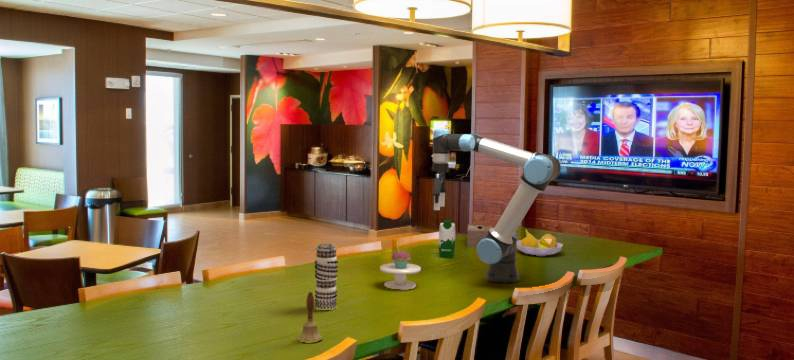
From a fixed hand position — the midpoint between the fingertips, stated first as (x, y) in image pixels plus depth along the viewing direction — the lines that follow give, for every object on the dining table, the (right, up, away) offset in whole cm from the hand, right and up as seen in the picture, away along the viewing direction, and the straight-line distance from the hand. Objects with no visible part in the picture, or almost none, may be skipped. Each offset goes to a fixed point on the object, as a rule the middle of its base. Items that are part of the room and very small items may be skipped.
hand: (439, 208), depth 309 cm
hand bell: (-49, -40, -88) cm, 108 cm away
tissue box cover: (+30, -26, +91) cm, 99 cm away
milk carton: (+7, -29, +50) cm, 58 cm away
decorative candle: (-47, -37, -52) cm, 79 cm away
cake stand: (-18, -34, -16) cm, 42 cm away
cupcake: (-18, -26, -16) cm, 35 cm away
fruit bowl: (+60, -29, +65) cm, 93 cm away
